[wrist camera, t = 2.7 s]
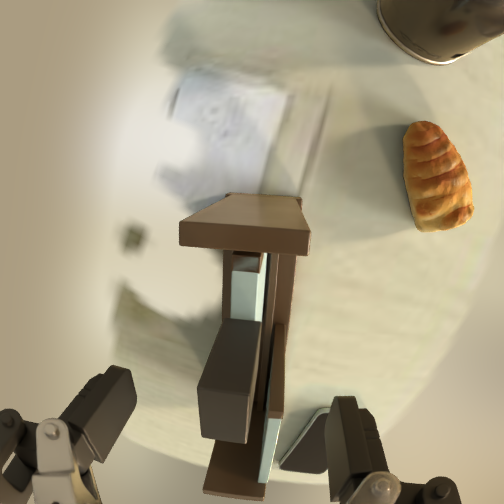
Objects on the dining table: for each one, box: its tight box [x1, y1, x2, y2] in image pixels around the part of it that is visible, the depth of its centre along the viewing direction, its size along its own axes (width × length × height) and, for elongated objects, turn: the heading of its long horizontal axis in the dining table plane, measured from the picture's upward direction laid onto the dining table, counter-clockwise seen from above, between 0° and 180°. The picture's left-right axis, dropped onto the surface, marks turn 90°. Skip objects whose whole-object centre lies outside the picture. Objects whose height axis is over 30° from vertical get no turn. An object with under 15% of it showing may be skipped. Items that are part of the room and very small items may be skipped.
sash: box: [197, 250, 267, 444], centre depth 16 cm, size 2×9×15 cm, turn 177°
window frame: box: [179, 192, 311, 501], centre depth 20 cm, size 6×22×14 cm, turn 177°
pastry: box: [403, 121, 474, 232], centre depth 19 cm, size 9×7×4 cm
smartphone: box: [279, 408, 330, 474], centre depth 31 cm, size 7×1×15 cm
